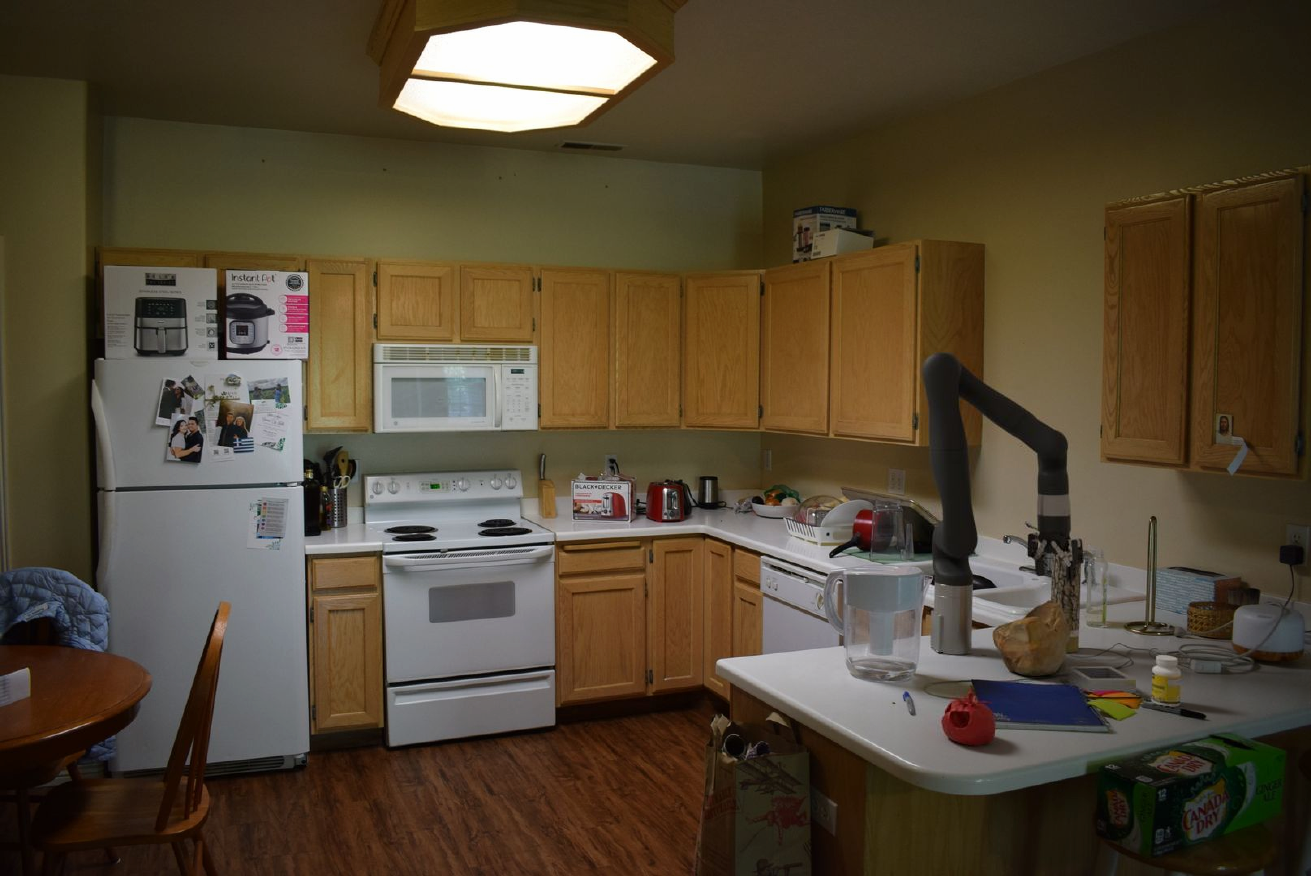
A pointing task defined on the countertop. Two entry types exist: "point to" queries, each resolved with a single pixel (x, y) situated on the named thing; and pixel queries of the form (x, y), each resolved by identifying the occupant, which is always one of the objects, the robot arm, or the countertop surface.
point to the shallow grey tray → (1099, 679)
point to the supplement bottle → (1166, 681)
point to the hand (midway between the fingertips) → (1055, 578)
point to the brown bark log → (1067, 598)
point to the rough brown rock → (1034, 641)
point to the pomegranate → (969, 721)
